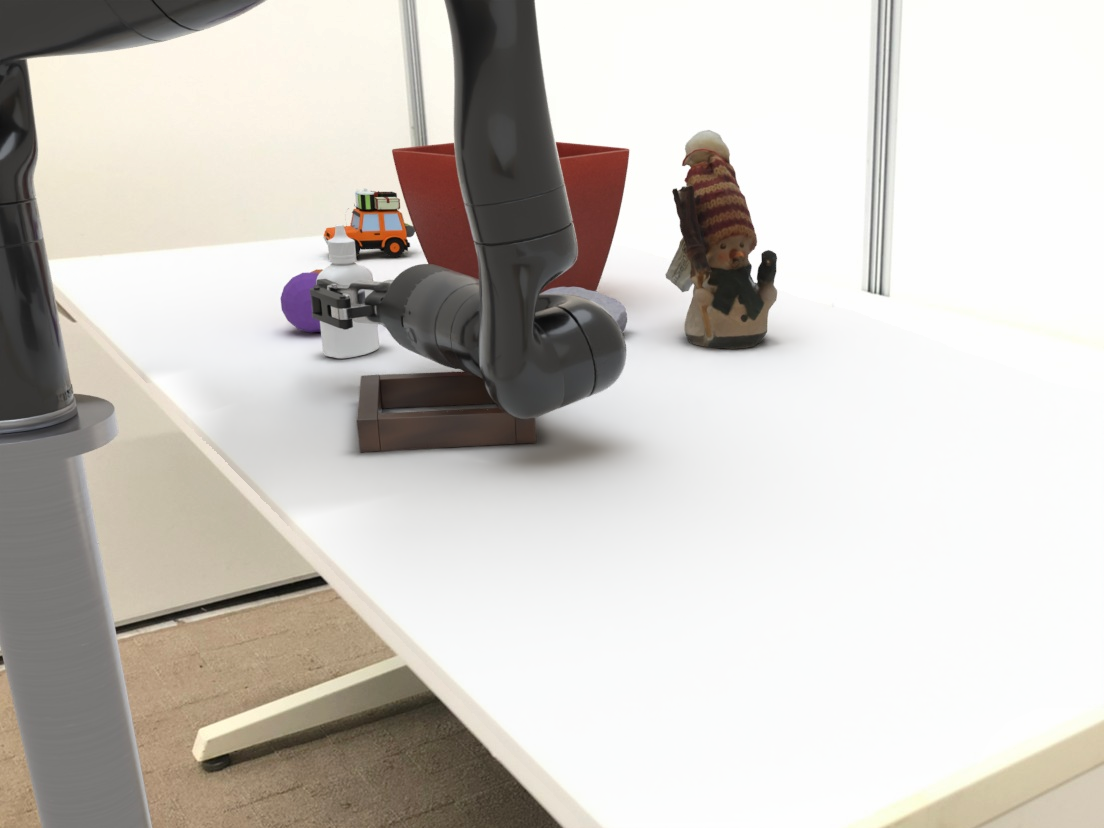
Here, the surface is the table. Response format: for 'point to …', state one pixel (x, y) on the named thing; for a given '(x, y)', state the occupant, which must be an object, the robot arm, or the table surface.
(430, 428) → the brown wooden square frame
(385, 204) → the toy car
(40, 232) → the robot arm
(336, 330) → the eye dropper bottle
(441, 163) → the flower pot
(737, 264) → the figurine
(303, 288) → the purple maraca
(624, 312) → the stone block
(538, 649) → the table surface
